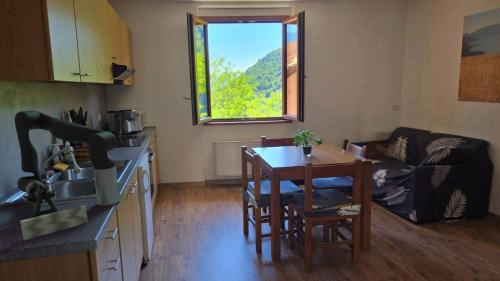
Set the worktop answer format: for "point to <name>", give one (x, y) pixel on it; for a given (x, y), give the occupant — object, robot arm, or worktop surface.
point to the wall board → (53, 222)
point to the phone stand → (37, 204)
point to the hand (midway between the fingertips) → (44, 200)
